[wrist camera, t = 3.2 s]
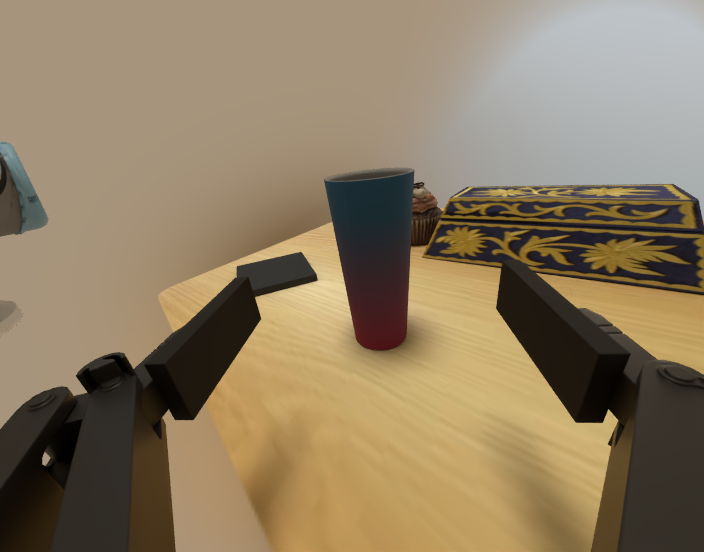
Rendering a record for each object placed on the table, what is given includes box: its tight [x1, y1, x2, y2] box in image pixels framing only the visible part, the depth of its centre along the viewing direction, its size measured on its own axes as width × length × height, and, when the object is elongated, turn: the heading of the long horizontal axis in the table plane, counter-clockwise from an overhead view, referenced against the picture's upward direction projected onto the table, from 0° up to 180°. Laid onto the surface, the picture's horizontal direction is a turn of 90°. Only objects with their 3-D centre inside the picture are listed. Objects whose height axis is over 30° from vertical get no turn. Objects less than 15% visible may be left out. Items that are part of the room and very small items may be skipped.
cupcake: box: [411, 182, 443, 246], centre depth 50 cm, size 10×10×10 cm
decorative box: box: [423, 184, 704, 294], centre depth 37 cm, size 11×30×9 cm, turn 55°
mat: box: [237, 252, 317, 296], centre depth 43 cm, size 11×11×1 cm
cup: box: [324, 168, 414, 350], centre depth 24 cm, size 7×7×15 cm
